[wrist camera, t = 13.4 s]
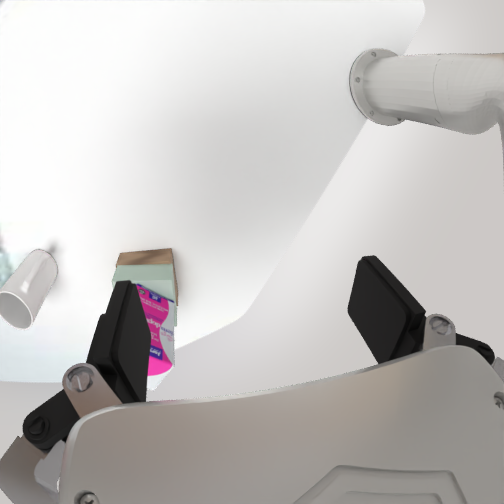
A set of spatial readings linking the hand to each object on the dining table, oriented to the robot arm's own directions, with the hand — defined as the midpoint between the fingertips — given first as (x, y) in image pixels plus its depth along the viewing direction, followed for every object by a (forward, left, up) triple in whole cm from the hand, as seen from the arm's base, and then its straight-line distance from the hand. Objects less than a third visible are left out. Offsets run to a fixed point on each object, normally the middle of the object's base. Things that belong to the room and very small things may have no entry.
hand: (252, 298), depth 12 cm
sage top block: (+10, +17, -26) cm, 32 cm away
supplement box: (+10, +17, -22) cm, 29 cm away
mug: (+28, +12, -29) cm, 42 cm away
